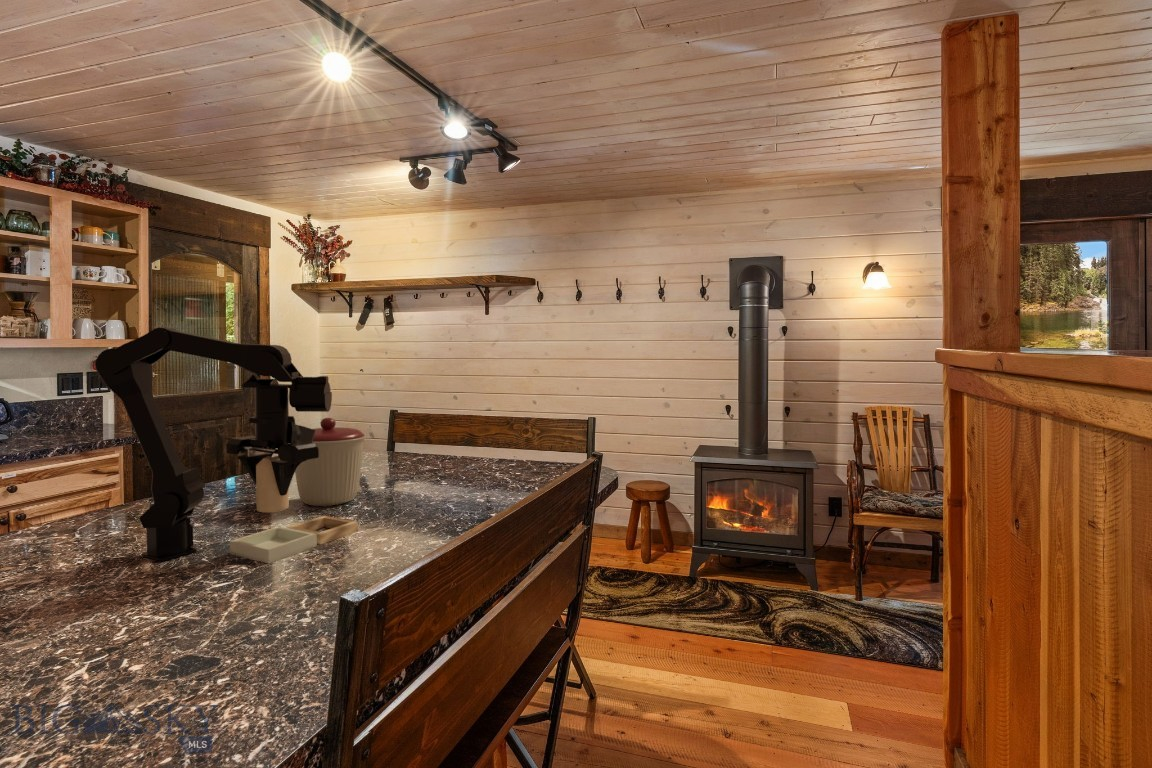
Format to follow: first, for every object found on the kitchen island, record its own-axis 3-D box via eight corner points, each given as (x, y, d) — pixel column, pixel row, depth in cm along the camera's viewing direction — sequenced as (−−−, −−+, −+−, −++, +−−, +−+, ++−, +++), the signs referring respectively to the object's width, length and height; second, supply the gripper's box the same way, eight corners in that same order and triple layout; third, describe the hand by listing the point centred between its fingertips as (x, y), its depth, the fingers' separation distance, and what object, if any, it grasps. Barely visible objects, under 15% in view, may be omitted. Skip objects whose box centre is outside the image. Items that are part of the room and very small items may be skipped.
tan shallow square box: (320, 544, 122) (320, 534, 122) (285, 537, 126) (285, 527, 126) (358, 531, 131) (358, 521, 131) (324, 524, 135) (324, 515, 135)
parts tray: (268, 563, 111) (268, 549, 111) (230, 554, 116) (229, 540, 116) (316, 546, 121) (316, 533, 121) (279, 538, 125) (278, 526, 125)
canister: (272, 507, 149) (270, 420, 148) (323, 490, 166) (322, 412, 165) (335, 513, 144) (334, 423, 143) (381, 496, 161) (380, 415, 160)
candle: (265, 514, 114) (264, 460, 113) (251, 509, 117) (250, 457, 117) (294, 508, 118) (293, 456, 118) (279, 503, 122) (279, 453, 121)
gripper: (341, 411, 120) (341, 490, 121) (275, 405, 128) (275, 480, 129) (292, 416, 110) (293, 503, 111) (224, 409, 118) (225, 490, 119)
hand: (272, 493), depth 118 cm, fingers closed on candle, 5 cm apart
